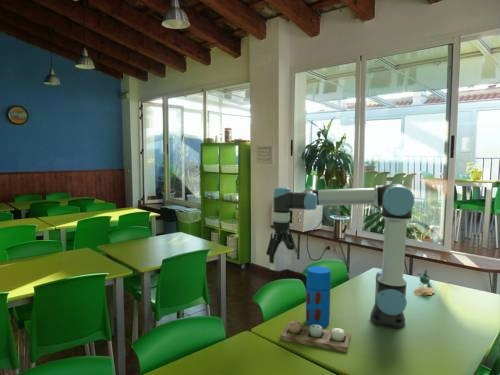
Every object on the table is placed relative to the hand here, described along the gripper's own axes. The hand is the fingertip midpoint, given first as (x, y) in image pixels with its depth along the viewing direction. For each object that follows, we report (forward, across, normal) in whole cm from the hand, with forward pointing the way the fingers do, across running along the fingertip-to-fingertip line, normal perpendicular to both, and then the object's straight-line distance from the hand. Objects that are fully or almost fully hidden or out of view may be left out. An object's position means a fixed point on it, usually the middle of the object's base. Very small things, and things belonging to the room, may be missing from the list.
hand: (280, 266), depth 172 cm
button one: (+23, +4, +31) cm, 39 cm away
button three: (+23, +9, +14) cm, 28 cm away
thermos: (+25, -8, +16) cm, 31 cm away
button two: (+23, +7, +22) cm, 33 cm away
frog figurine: (+25, -79, +46) cm, 95 cm away
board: (+25, +7, +22) cm, 34 cm away
